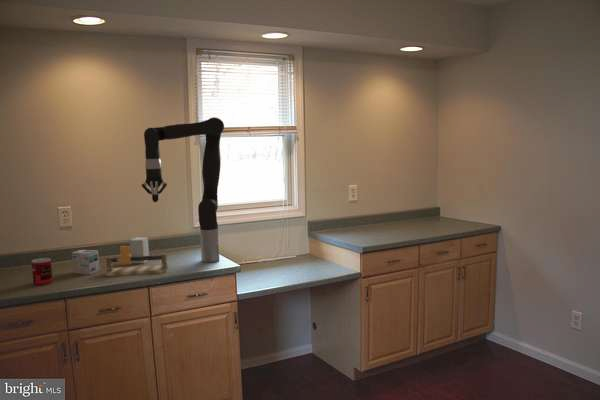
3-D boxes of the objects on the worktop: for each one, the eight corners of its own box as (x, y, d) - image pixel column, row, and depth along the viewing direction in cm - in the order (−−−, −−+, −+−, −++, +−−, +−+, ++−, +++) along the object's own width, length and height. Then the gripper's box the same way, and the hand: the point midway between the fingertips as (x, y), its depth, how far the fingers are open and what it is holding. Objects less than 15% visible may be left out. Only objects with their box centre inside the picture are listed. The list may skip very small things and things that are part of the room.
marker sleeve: (131, 262, 243) (130, 245, 242) (130, 264, 239) (129, 246, 238) (121, 262, 242) (120, 245, 241) (119, 264, 238) (118, 247, 237)
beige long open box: (168, 267, 249) (167, 251, 248) (165, 272, 239) (164, 255, 238) (110, 270, 245) (109, 254, 244) (105, 276, 235) (104, 259, 234)
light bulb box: (100, 271, 243) (98, 250, 242) (90, 275, 237) (88, 253, 236) (82, 270, 247) (81, 249, 246) (72, 273, 241) (71, 252, 239)
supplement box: (149, 260, 264) (148, 237, 263) (144, 263, 257) (142, 240, 255) (136, 260, 265) (135, 237, 264) (130, 263, 258) (129, 240, 256)
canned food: (37, 281, 228) (35, 258, 227) (55, 280, 229) (53, 257, 228) (30, 286, 221) (28, 262, 219) (48, 285, 222) (46, 261, 220)
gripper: (167, 167, 251) (169, 200, 253) (141, 167, 249) (143, 201, 251) (166, 167, 244) (168, 202, 246) (138, 168, 242) (140, 203, 244)
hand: (155, 201), depth 249 cm, fingers closed
